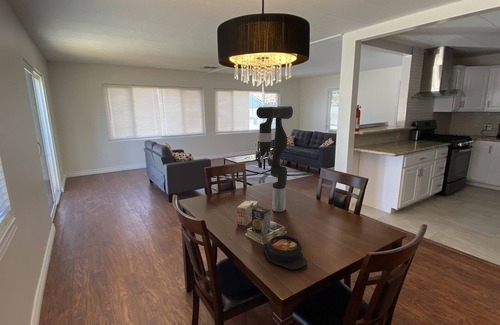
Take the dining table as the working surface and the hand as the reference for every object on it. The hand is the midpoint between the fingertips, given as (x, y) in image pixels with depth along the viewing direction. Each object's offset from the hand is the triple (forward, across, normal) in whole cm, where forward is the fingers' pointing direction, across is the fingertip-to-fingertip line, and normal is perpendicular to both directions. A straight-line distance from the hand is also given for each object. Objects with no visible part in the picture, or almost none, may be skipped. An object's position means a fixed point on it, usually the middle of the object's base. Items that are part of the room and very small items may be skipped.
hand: (265, 166), depth 156 cm
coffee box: (+37, +14, +10) cm, 41 cm away
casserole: (+38, +20, +33) cm, 54 cm away
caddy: (+38, +9, +10) cm, 40 cm away
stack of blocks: (+38, +2, -13) cm, 41 cm away
